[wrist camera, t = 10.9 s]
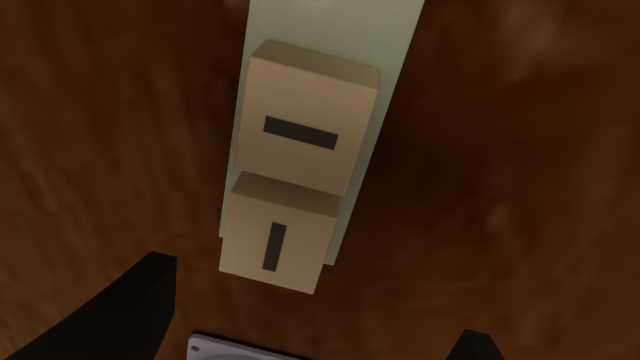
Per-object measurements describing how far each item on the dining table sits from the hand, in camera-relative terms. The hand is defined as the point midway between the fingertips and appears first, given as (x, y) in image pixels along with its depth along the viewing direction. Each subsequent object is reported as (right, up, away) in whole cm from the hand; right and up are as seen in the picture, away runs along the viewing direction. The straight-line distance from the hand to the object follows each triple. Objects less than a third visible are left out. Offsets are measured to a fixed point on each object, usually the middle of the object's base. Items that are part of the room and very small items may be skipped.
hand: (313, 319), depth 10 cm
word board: (0, +7, +7) cm, 10 cm away
